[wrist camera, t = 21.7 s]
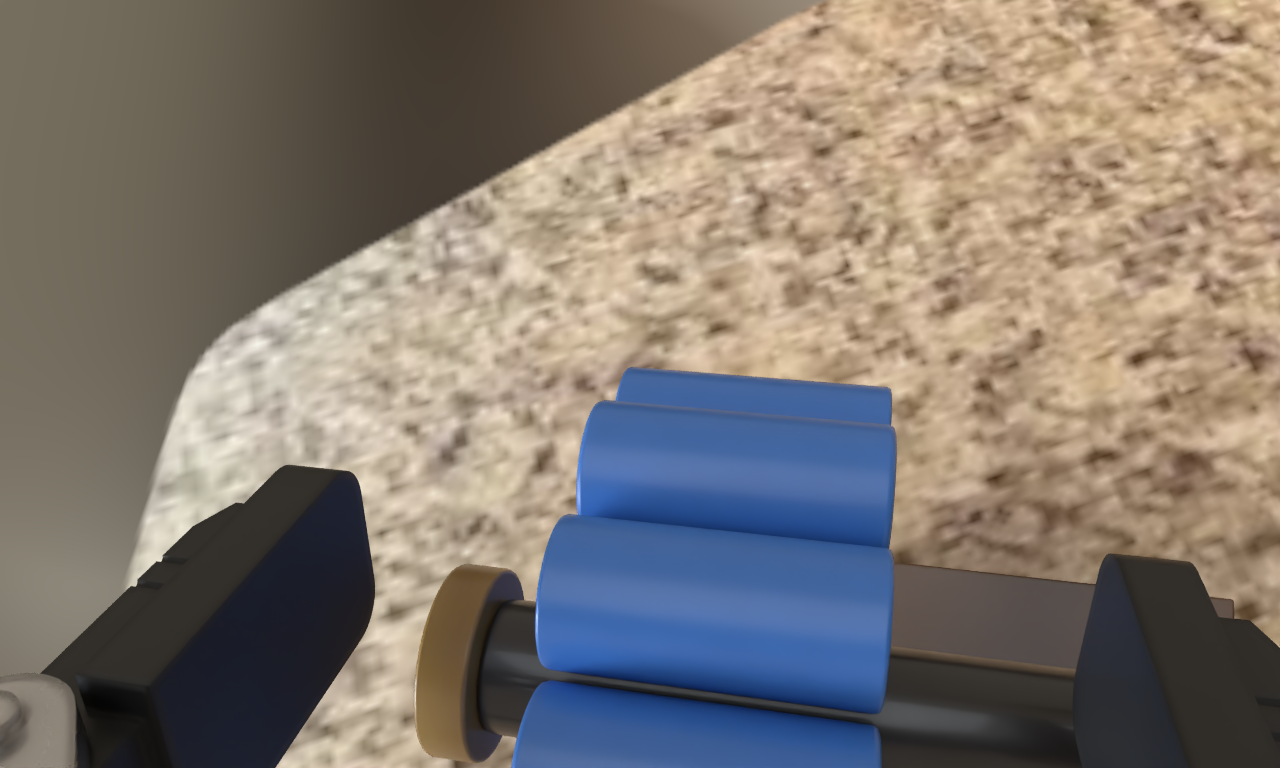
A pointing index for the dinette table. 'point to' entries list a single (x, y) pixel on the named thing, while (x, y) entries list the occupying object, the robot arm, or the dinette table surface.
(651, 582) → the blue ribbed cylinder bundle
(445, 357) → the dinette table surface
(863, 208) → the dinette table surface
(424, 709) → the tape stand
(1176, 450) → the dinette table surface
